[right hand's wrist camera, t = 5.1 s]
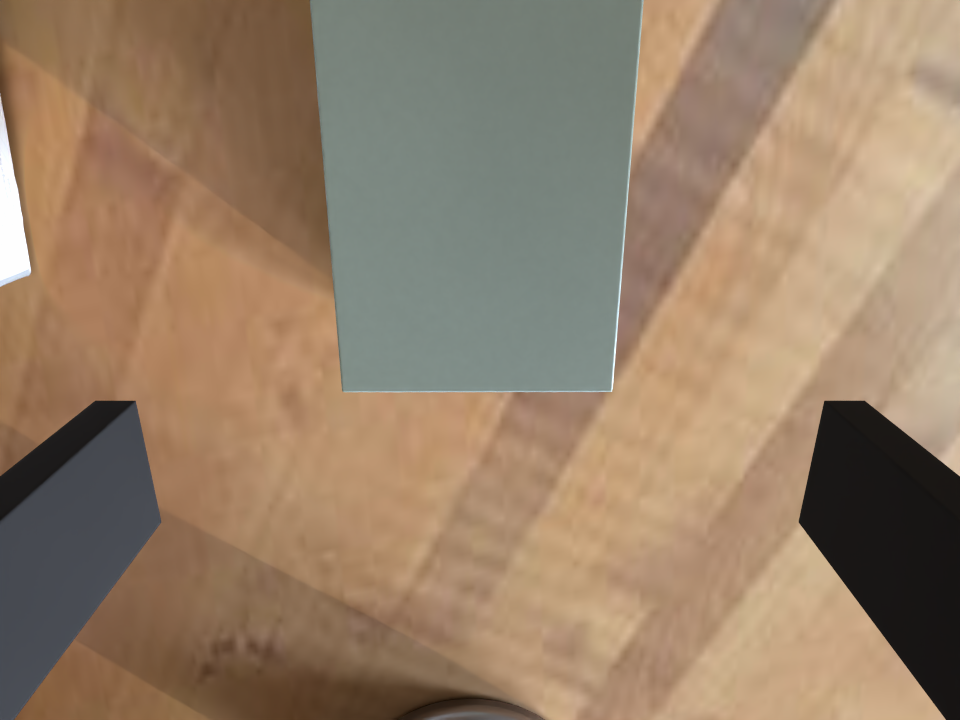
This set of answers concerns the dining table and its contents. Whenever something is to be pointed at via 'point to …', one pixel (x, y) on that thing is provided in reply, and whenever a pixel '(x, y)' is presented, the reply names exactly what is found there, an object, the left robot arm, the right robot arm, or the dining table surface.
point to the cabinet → (476, 189)
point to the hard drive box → (10, 217)
